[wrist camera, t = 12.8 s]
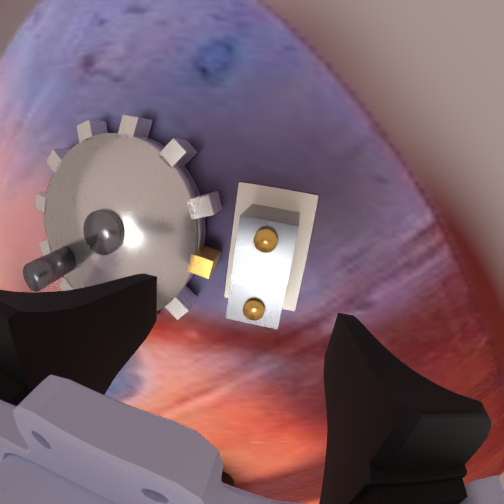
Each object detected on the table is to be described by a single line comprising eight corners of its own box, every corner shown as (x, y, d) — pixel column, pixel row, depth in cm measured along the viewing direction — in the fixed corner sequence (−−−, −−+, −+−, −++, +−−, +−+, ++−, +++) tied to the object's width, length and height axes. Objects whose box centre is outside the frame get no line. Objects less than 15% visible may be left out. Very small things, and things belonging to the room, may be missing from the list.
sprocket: (262, 275, 20) (246, 320, 15) (109, 337, 25) (71, 376, 19) (158, 77, 18) (108, 55, 12) (31, 188, 22) (-20, 201, 16)
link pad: (295, 309, 21) (294, 311, 21) (225, 295, 22) (224, 297, 22) (318, 195, 19) (318, 195, 19) (239, 181, 19) (238, 182, 19)
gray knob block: (282, 298, 21) (276, 331, 17) (239, 289, 21) (224, 320, 17) (300, 212, 19) (298, 227, 15) (252, 203, 19) (238, 216, 15)
